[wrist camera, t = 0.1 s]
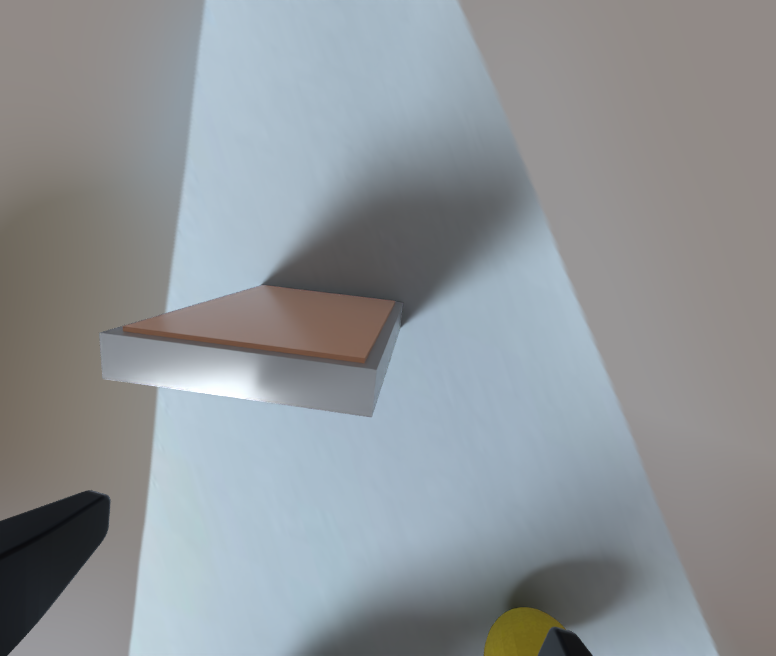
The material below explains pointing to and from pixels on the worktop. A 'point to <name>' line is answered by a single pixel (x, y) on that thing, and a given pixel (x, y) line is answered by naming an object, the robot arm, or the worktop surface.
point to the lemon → (519, 632)
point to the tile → (264, 348)
